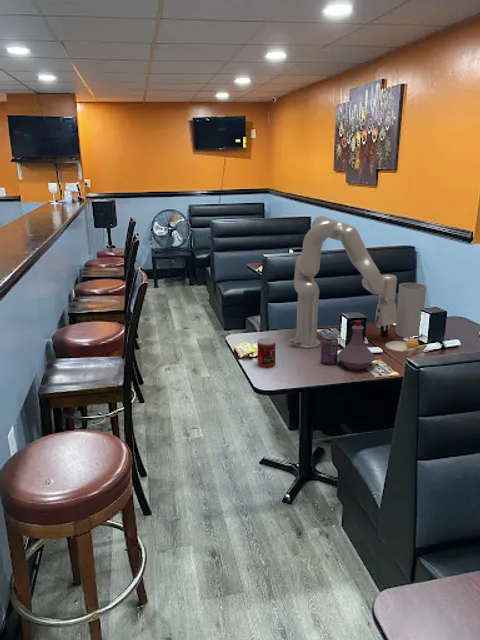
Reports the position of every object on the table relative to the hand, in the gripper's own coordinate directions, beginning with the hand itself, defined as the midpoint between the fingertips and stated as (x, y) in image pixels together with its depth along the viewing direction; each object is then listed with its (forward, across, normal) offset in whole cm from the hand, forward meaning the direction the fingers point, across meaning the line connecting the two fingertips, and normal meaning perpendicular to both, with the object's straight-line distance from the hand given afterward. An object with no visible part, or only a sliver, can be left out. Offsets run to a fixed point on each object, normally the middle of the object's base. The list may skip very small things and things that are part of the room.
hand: (384, 337), depth 241 cm
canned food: (+2, -64, +7) cm, 64 cm away
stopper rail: (+2, -1, -20) cm, 20 cm away
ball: (-1, +1, -16) cm, 16 cm away
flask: (+2, -33, -15) cm, 36 cm away
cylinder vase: (+2, +16, -1) cm, 16 cm away
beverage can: (+2, -40, -6) cm, 40 cm away
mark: (+2, 0, -10) cm, 10 cm away
